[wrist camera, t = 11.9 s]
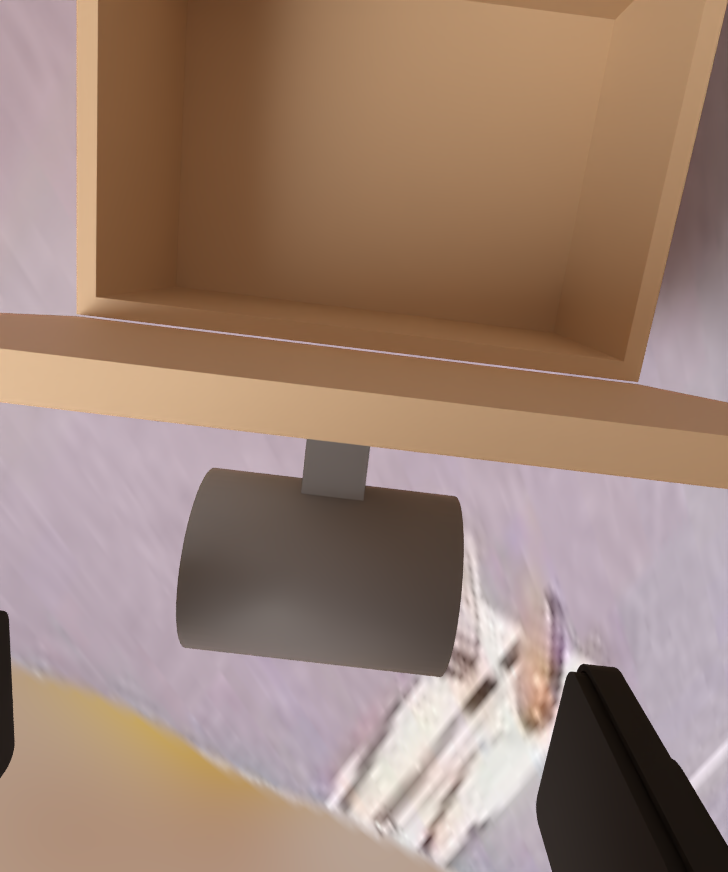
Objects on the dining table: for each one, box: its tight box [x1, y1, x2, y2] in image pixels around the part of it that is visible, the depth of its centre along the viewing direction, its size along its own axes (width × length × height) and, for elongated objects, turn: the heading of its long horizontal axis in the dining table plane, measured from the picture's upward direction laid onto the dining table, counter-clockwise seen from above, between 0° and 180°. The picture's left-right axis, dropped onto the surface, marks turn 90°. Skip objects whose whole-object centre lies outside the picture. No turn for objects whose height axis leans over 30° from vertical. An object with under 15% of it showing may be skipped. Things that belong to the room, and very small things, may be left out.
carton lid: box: [0, 313, 728, 677], centre depth 19 cm, size 18×24×6 cm
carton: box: [77, 0, 728, 382], centre depth 31 cm, size 18×24×12 cm
